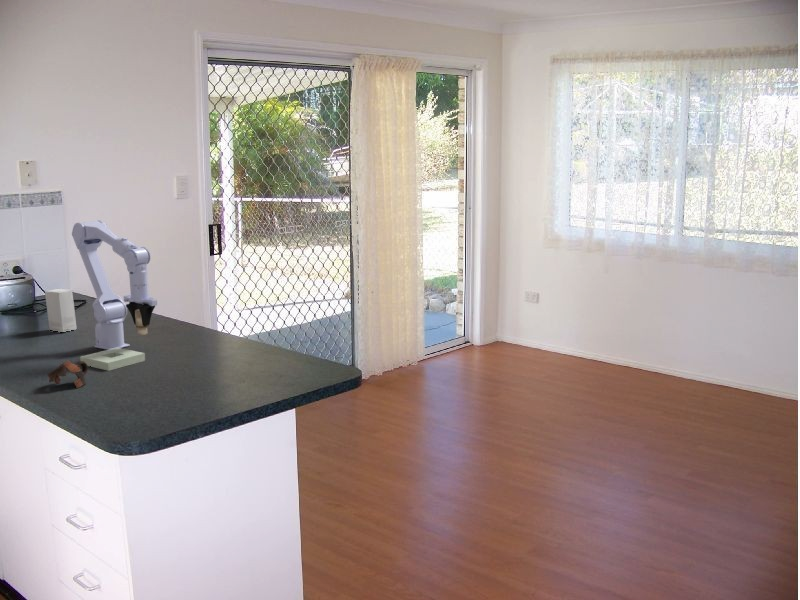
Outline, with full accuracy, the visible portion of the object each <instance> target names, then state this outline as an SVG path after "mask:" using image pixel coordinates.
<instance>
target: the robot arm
mask: <svg viewBox="0 0 800 600" xmlns="http://www.w3.org/2000/svg"><path fill="white" fill-rule="evenodd" d="M71 236H72V238H73V241H74V243H75V246H76V249H77V250H78V251H79V252H78V253H79V254H80V257H81V260H82V261H83V265H84V266H85V270H86V272H87V275H88V277H89V280H90V282H91V285H92V288H93V290H94V294H95V295H96V298H95V300H94V301H93V302H92V308H93V316H94V319H95V320H96V321H97V323H96V324H95V326H94V327H95V328H94V333H95V334H94V335H95V345H94V346H93V347H94V348H98V349H102V350H109V349H113V348H122V349H124V348H126V347H130V346H131V345H130V344H129V343H125V336H124V335H125V333H124V323H123V322H124V321H125V319H126V317H127V315H128V312H129V313H130V315H131V319H132V321H133V324H134V325H135V326H136V320H135V310H138V309H139V311H140V313H141V317H142V324H143V326H148V327H149V326H150V323H151V319H152V315H153V312H154V309H155V308H156V306H158V299H157V298H156V299H155V298H153V297H150V294H149V293H150V292H149V291H150V290H149V277H148V275H149V274H148V264H149V263H150V261H151V253H150V251H149V250H148V248H146V247H145V246H140V247H138V246H137V245H136V243H133V242H131V241H130V240H128V238H127V237H126V236H123V237H121V236H120V237H118V236H117V235H116V234H115V233H113V232H112V231H111V230H110V229H109V228H108V226H107V224H106V223H104V221H102V220H97V221H88V222H87V221H85V222H76V223H73V226H72V231H71ZM103 242H104V243H106V244H107V245H109V246H111V248H112V251H113V252H114V253H115V254H116V255H118V256H119V257H121V258H122V259H124V263H125V265H126V270H127V272H128V273H129V274H128V275H129V288H130V290H129V291H130V295H129V294H127V295H123V299H122V297H121V295H119V294H117V293H114V292H113V289H112V287H111V284H110V281H109V280H108V277H107V274H106V272H105V269H104V267H103V265H102V262H101V259H100V256H99V253H98V248H100V247H101V245H102V243H103ZM127 302H128V303H127ZM126 303H127V304H126Z"/></svg>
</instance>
